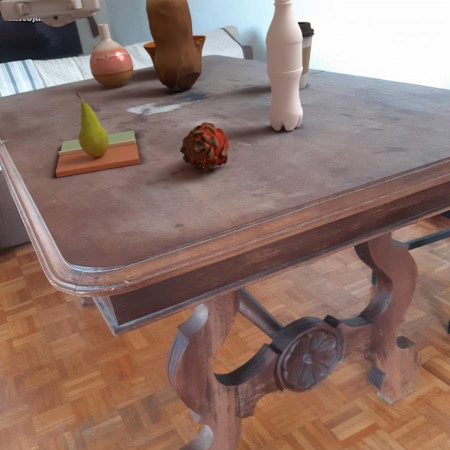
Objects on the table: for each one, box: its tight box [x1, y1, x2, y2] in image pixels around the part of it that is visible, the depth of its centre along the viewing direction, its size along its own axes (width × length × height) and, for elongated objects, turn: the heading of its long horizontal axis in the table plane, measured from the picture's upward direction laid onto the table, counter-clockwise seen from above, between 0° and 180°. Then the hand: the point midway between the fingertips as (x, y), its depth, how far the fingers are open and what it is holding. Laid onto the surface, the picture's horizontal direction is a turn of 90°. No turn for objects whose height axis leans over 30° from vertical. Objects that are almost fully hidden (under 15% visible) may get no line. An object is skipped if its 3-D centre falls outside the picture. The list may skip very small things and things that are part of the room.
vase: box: [89, 23, 134, 89], centre depth 150 cm, size 14×14×18 cm
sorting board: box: [55, 129, 140, 178], centre depth 99 cm, size 16×20×2 cm
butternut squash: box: [145, 0, 203, 92], centre depth 133 cm, size 14×13×25 cm
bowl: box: [142, 34, 207, 69], centre depth 160 cm, size 21×21×10 cm
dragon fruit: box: [179, 121, 230, 173], centre depth 85 cm, size 8×8×12 cm
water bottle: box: [265, 0, 304, 132], centre depth 94 cm, size 7×7×25 cm
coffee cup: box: [297, 21, 315, 90], centre depth 126 cm, size 11×11×15 cm
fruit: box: [75, 92, 109, 158], centre depth 91 cm, size 6×6×12 cm
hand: (47, 7), depth 94 cm, fingers open, 8 cm apart
